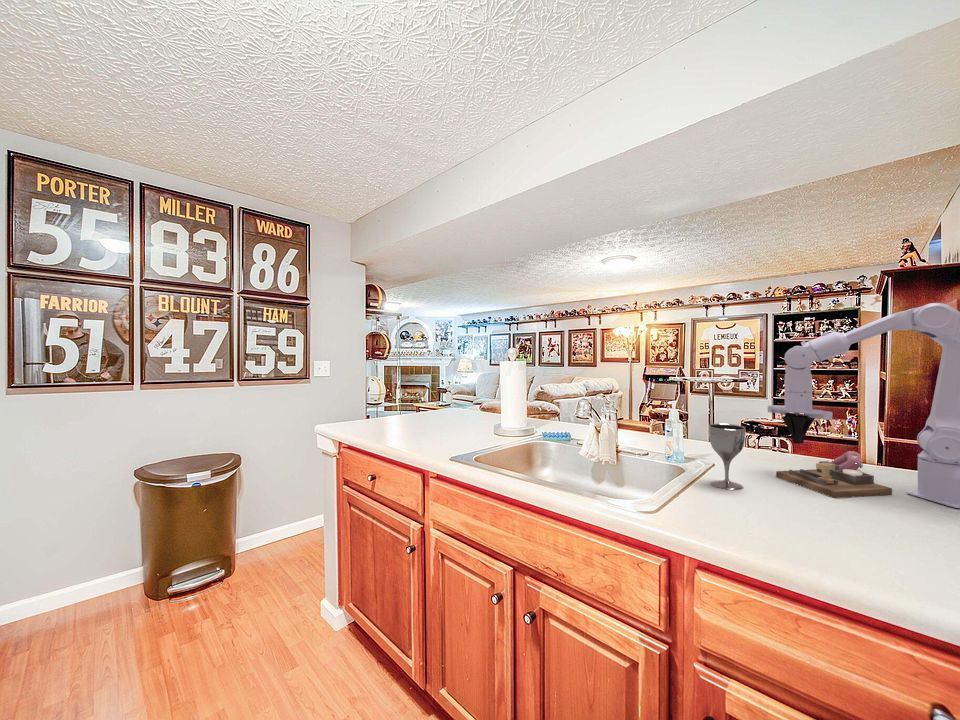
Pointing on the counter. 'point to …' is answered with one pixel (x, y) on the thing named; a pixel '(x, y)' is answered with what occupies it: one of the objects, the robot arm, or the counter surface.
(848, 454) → the pink toy figure
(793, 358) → the robot arm
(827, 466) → the slide lever
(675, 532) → the counter surface
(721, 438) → the wine glass
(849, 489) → the control panel
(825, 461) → the rocker switch
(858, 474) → the push button
